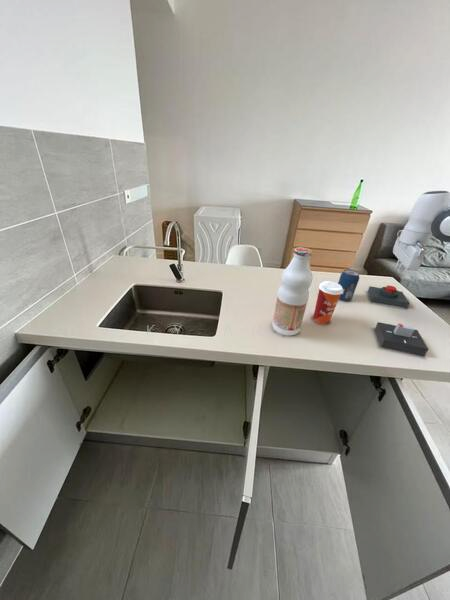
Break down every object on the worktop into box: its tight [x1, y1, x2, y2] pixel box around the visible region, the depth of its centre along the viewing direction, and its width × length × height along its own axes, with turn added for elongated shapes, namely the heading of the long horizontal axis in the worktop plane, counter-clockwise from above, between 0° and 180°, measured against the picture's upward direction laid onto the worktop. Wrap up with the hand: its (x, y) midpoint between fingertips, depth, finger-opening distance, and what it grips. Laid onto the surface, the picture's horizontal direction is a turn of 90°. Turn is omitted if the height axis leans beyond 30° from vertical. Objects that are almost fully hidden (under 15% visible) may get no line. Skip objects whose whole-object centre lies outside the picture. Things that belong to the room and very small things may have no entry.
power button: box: [385, 285, 397, 293], centre depth 101 cm, size 4×4×2 cm
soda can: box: [337, 268, 360, 302], centre depth 100 cm, size 7×7×12 cm
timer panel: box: [374, 321, 429, 357], centre depth 79 cm, size 12×10×3 cm
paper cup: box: [313, 280, 343, 325], centre depth 85 cm, size 8×8×14 cm
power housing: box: [367, 285, 410, 309], centre depth 103 cm, size 13×10×4 cm
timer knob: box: [393, 323, 416, 337], centre depth 77 cm, size 4×2×3 cm, turn 72°
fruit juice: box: [272, 246, 314, 336], centre depth 76 cm, size 9×9×28 cm
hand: (398, 271), depth 97 cm, fingers closed
